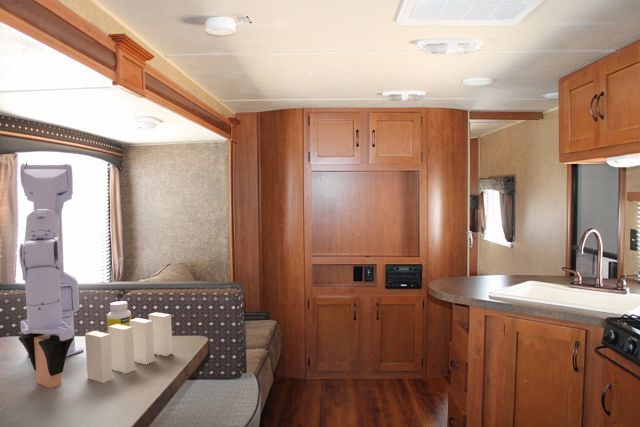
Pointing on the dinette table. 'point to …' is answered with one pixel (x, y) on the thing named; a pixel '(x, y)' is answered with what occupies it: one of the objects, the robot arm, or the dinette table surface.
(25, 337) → the robot arm
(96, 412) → the dinette table surface
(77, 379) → the dinette table surface
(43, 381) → the terracotta domino
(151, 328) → the domino
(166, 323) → the domino
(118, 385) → the dinette table surface
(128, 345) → the domino
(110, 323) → the supplement bottle
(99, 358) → the domino
